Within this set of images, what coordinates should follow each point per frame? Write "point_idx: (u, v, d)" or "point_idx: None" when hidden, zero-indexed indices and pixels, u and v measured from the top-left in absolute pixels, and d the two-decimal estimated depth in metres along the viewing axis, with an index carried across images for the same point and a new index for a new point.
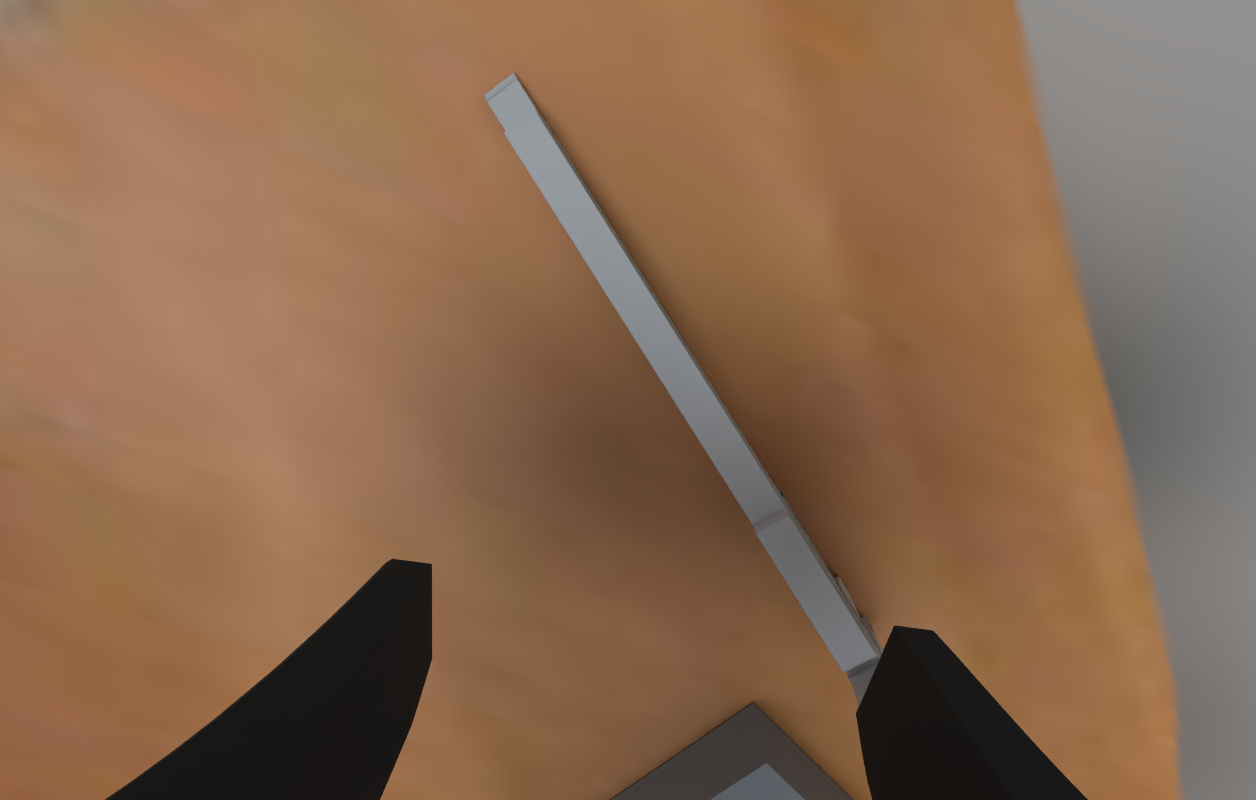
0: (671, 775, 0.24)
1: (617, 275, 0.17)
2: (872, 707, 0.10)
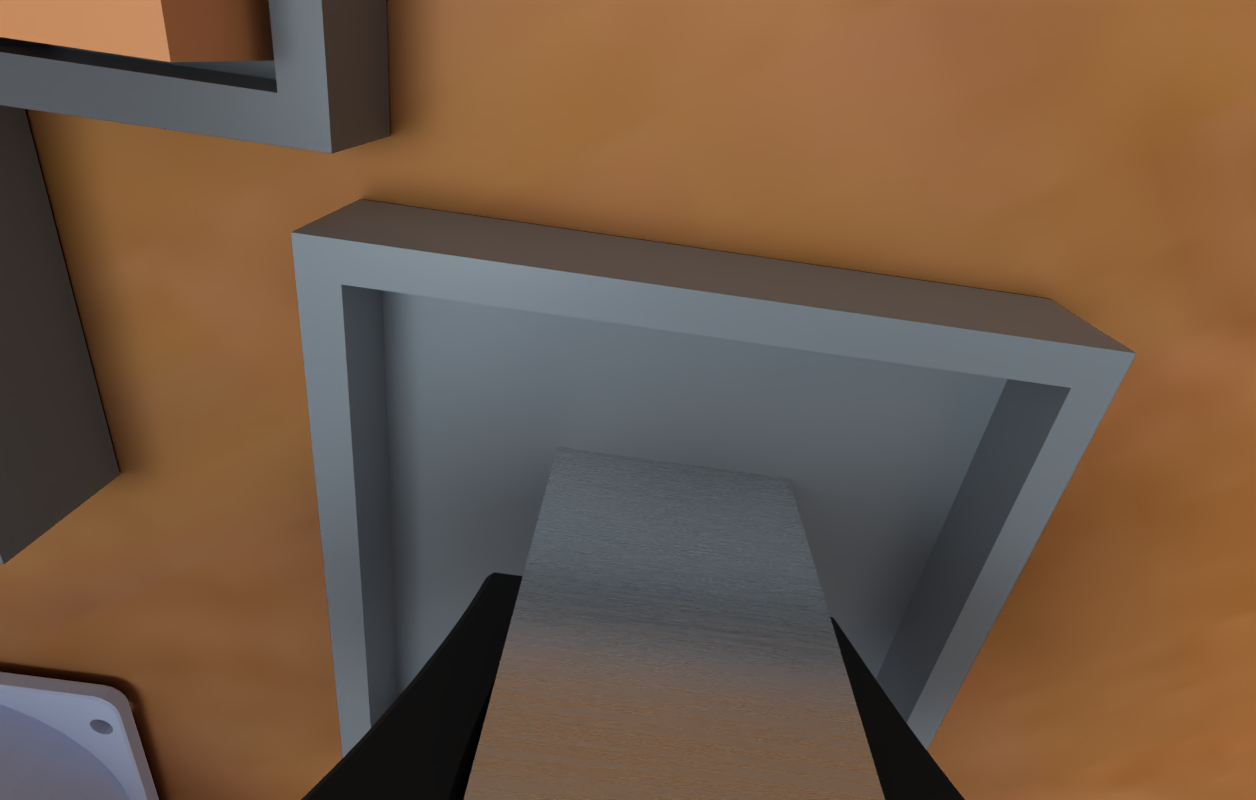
0: None
1: None
2: None
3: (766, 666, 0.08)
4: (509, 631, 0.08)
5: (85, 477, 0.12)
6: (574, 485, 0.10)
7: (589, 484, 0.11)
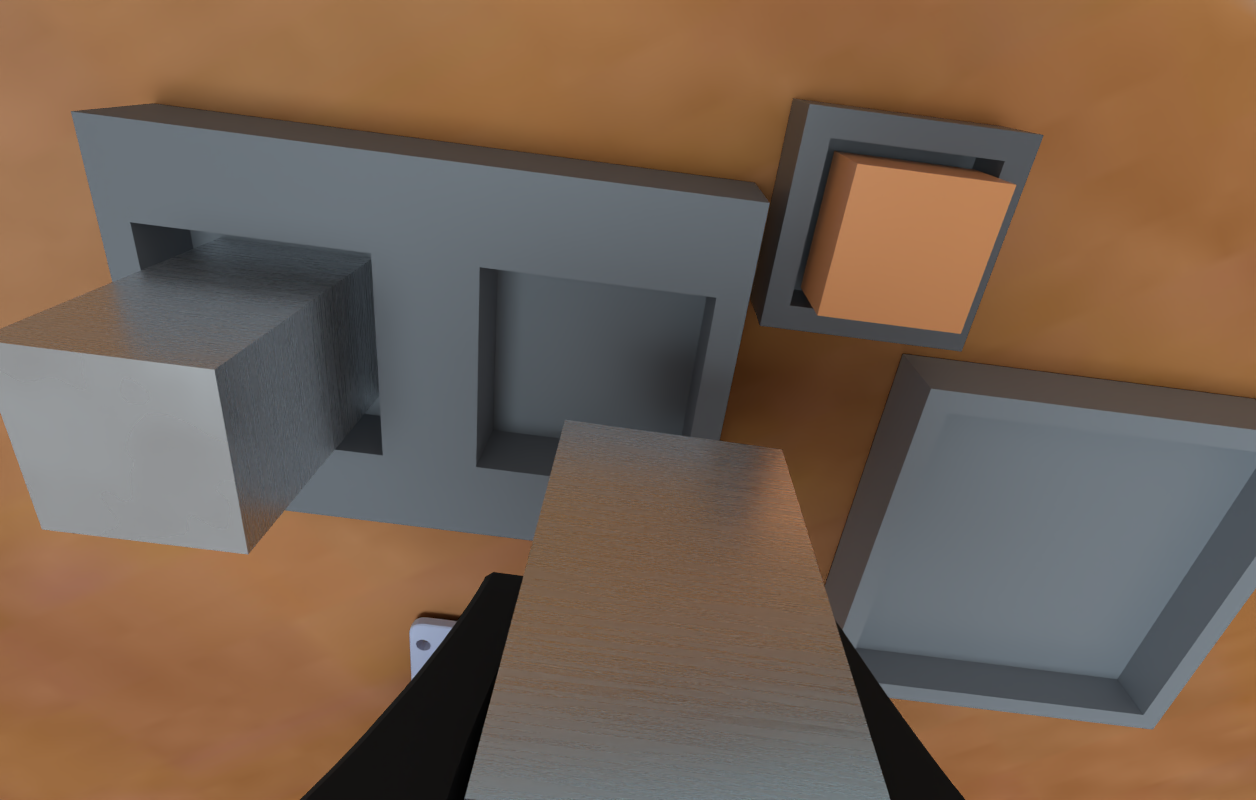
0: None
1: None
2: None
3: (759, 608, 0.09)
4: (525, 576, 0.09)
5: None
6: (581, 453, 0.11)
7: (595, 452, 0.11)
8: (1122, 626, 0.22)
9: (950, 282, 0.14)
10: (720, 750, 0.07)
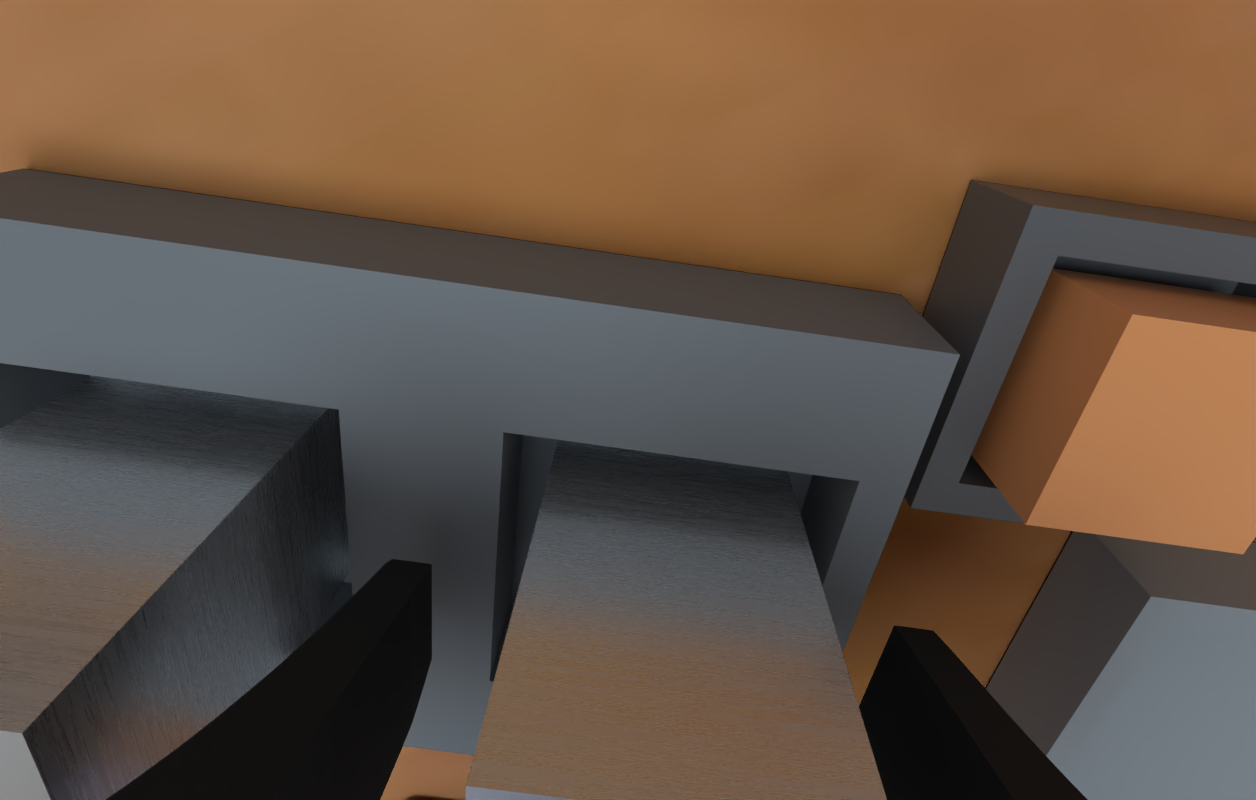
0: None
1: None
2: (872, 707, 0.10)
3: (756, 601, 0.09)
4: (525, 569, 0.09)
5: None
6: (580, 449, 0.11)
7: (595, 448, 0.11)
8: None
9: (1244, 485, 0.09)
10: (716, 739, 0.07)
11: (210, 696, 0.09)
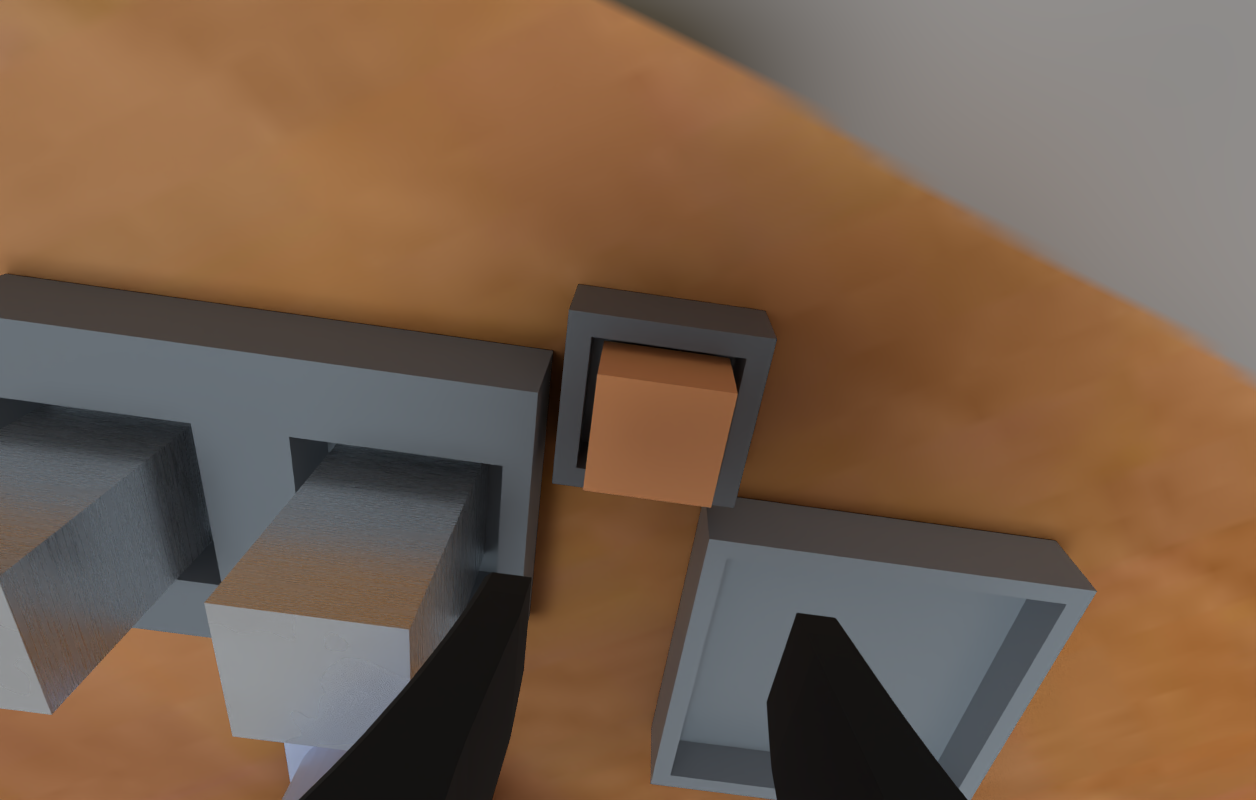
0: None
1: None
2: (778, 695, 0.10)
3: (408, 531, 0.16)
4: (280, 513, 0.16)
5: None
6: (350, 447, 0.18)
7: None
8: (929, 728, 0.24)
9: (694, 467, 0.16)
10: (342, 589, 0.14)
11: (108, 586, 0.16)
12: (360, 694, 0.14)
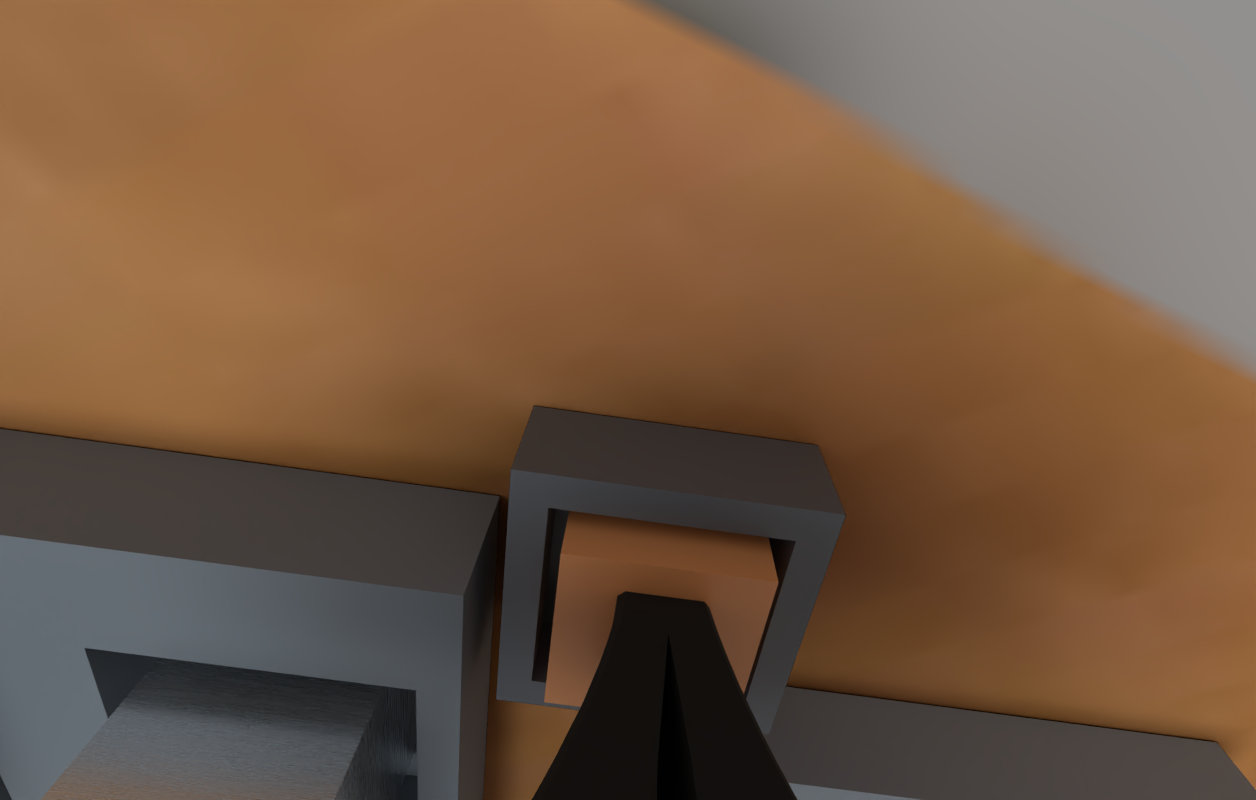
0: None
1: None
2: None
3: None
4: None
5: None
6: None
7: None
8: None
9: None
10: None
11: None
12: None
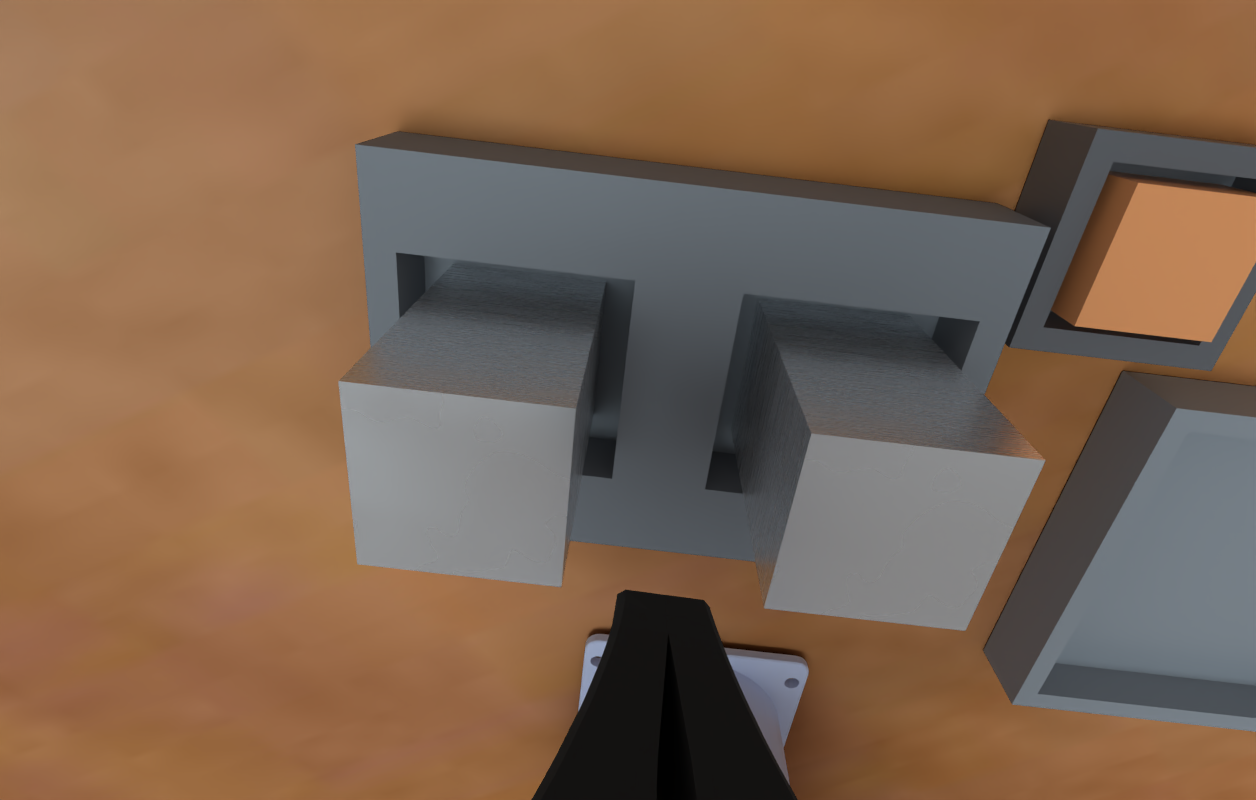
0: None
1: None
2: None
3: (929, 380, 0.14)
4: (784, 363, 0.14)
5: None
6: (780, 314, 0.17)
7: (789, 313, 0.17)
8: None
9: (1210, 293, 0.15)
10: (933, 426, 0.12)
11: (579, 454, 0.14)
12: (944, 548, 0.12)
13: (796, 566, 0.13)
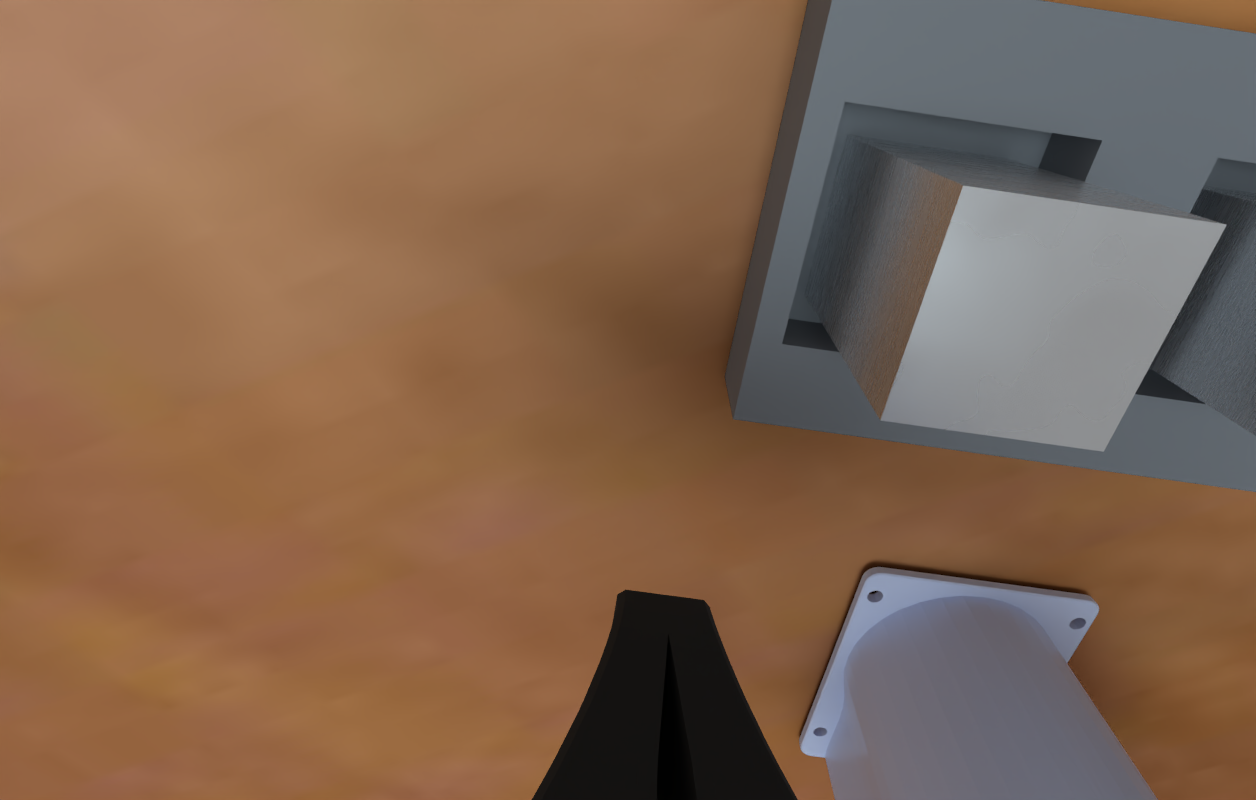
0: (777, 164, 0.16)
1: None
2: None
3: None
4: None
5: None
6: (1220, 191, 0.15)
7: (1228, 192, 0.15)
8: None
9: None
10: None
11: None
12: None
13: None
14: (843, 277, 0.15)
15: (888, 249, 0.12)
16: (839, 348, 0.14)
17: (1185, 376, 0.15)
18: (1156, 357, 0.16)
